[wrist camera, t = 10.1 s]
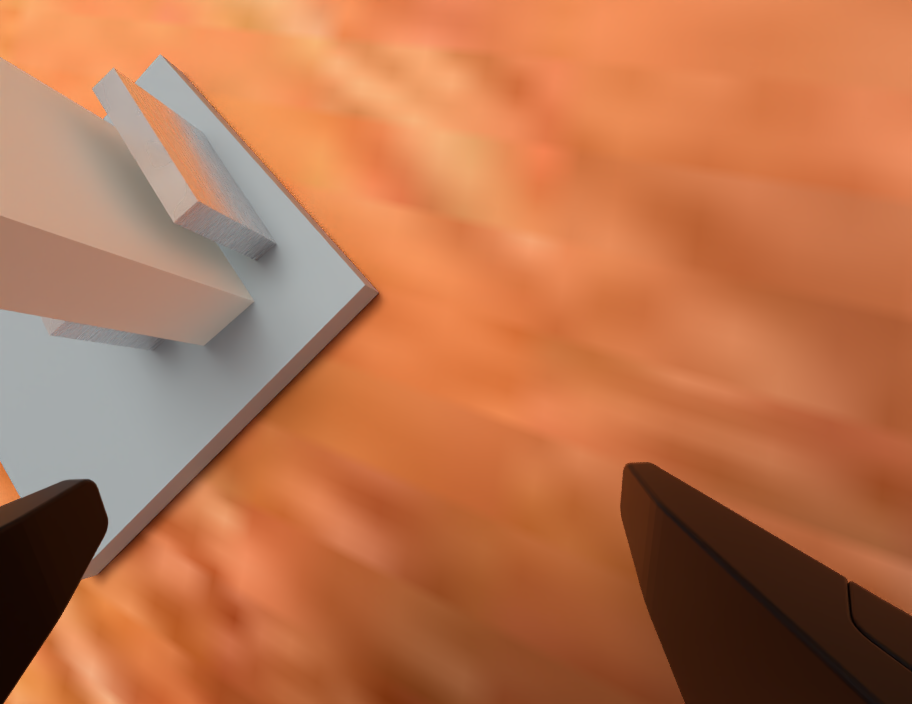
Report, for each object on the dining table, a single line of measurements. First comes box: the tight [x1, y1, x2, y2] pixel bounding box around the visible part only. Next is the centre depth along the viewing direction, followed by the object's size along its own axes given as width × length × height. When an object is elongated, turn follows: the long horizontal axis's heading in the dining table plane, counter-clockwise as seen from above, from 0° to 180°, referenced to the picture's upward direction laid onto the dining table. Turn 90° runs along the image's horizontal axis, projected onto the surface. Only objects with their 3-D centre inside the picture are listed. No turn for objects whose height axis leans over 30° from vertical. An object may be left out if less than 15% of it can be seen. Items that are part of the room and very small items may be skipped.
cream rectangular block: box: [0, 57, 254, 346], centre depth 15 cm, size 8×4×12 cm, turn 37°
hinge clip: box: [40, 68, 277, 351], centre depth 19 cm, size 6×6×4 cm
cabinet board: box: [0, 54, 379, 580], centre depth 21 cm, size 14×16×1 cm
